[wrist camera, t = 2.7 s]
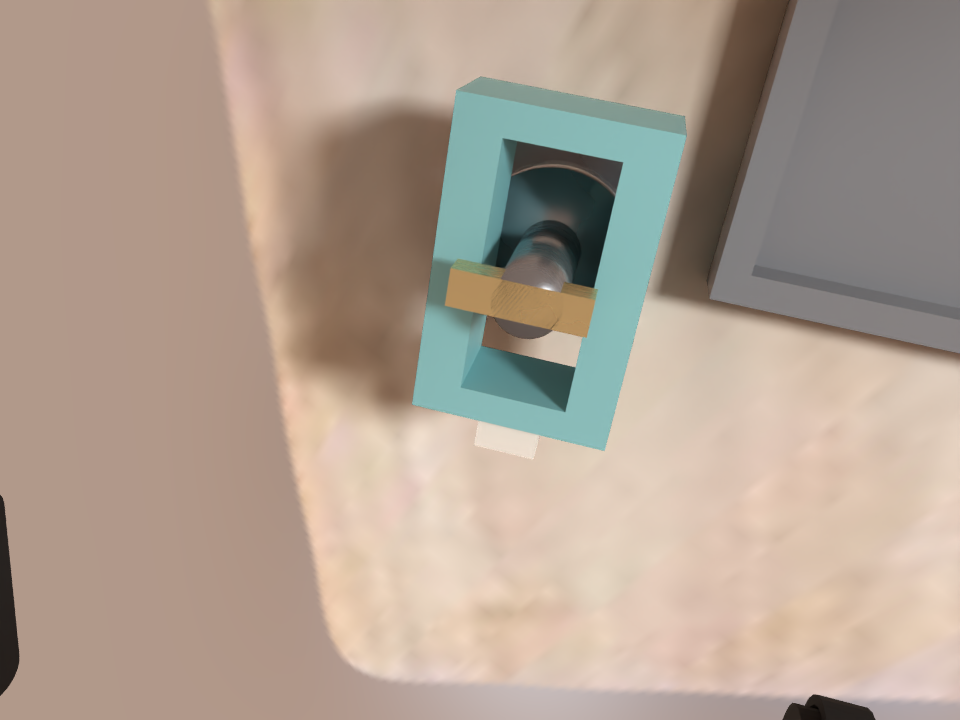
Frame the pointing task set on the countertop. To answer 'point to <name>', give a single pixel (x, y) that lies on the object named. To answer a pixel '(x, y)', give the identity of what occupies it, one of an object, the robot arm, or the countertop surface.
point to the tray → (853, 174)
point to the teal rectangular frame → (476, 236)
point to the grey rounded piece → (544, 245)
